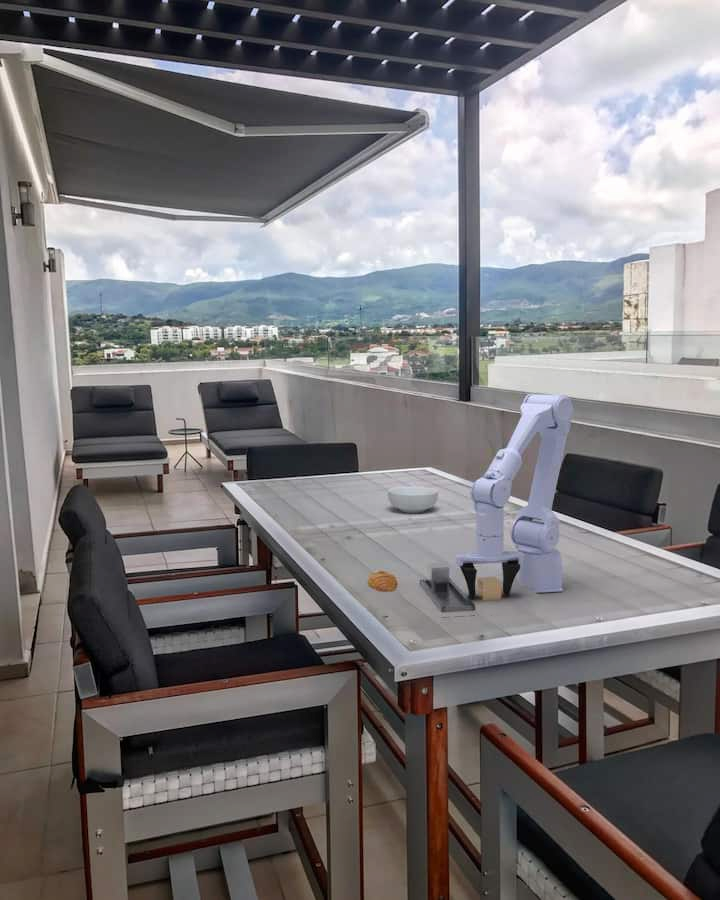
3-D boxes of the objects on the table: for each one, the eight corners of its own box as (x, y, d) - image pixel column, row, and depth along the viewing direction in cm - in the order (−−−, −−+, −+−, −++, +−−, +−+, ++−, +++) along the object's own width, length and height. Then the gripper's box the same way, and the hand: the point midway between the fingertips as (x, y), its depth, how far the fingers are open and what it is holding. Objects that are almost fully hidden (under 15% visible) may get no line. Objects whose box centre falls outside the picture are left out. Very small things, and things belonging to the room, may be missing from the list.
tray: (449, 587, 186) (449, 578, 186) (475, 615, 167) (475, 605, 166) (419, 589, 185) (419, 579, 185) (441, 617, 166) (441, 607, 165)
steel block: (444, 584, 185) (444, 562, 184) (450, 591, 180) (451, 569, 179) (427, 585, 184) (427, 563, 184) (433, 592, 179) (433, 569, 178)
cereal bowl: (422, 517, 263) (422, 496, 262) (378, 512, 272) (378, 491, 271) (446, 508, 277) (446, 488, 276) (404, 504, 286) (404, 484, 285)
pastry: (402, 597, 181) (402, 580, 180) (372, 599, 179) (372, 582, 179) (393, 584, 190) (393, 568, 189) (365, 586, 189) (364, 570, 188)
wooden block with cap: (493, 597, 179) (493, 574, 179) (501, 604, 174) (501, 582, 173) (475, 598, 179) (475, 575, 178) (482, 605, 173) (483, 583, 173)
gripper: (515, 528, 179) (514, 588, 180) (451, 531, 176) (451, 592, 178) (527, 535, 172) (526, 598, 174) (461, 539, 169) (460, 602, 171)
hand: (489, 596), depth 175 cm, fingers open, 7 cm apart
